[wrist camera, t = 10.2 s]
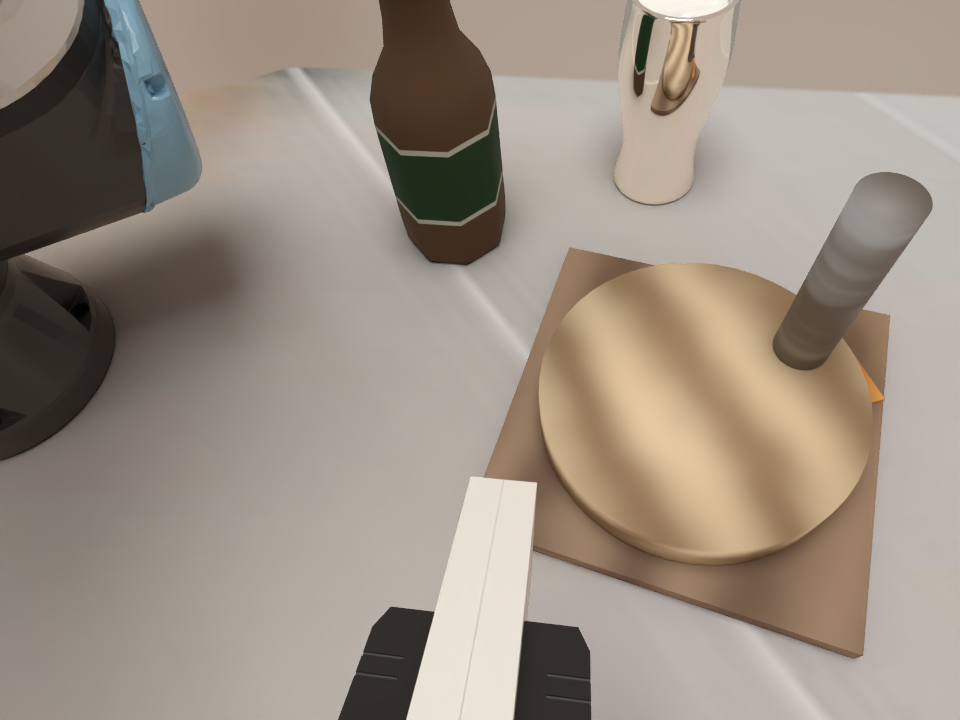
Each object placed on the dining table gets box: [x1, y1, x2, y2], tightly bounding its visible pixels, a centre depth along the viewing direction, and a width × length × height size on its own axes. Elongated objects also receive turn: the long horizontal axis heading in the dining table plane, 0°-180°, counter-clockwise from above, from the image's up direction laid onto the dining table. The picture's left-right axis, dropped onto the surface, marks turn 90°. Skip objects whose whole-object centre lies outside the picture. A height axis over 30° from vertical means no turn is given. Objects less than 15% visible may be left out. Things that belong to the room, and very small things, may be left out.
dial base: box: [484, 248, 890, 658], centre depth 40 cm, size 21×21×2 cm
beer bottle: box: [370, 0, 505, 264], centre depth 40 cm, size 8×8×24 cm
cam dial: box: [539, 172, 933, 565], centre depth 33 cm, size 18×18×15 cm
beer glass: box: [614, 0, 741, 205], centre depth 45 cm, size 7×7×15 cm
